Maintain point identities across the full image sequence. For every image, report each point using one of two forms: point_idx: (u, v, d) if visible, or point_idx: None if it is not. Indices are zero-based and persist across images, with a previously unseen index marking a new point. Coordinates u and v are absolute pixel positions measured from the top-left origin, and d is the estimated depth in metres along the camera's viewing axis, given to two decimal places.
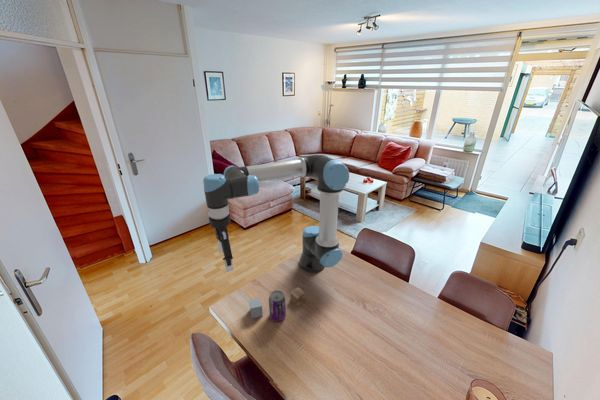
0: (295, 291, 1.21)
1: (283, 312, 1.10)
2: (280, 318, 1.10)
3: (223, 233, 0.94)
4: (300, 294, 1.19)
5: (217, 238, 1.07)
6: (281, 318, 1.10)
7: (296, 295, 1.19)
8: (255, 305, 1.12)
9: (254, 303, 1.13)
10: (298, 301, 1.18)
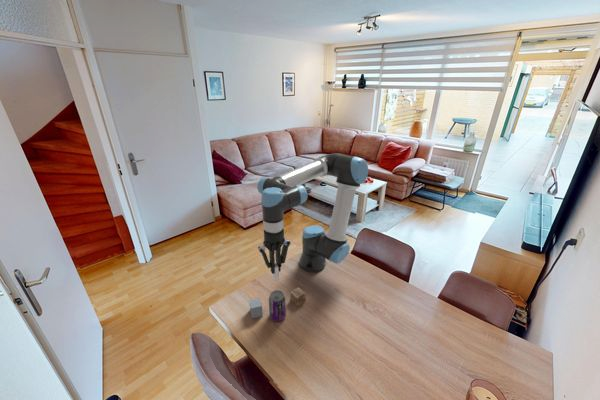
0: (295, 291, 1.21)
1: (283, 312, 1.10)
2: (280, 318, 1.10)
3: (260, 247, 0.96)
4: (300, 294, 1.19)
5: None
6: (281, 318, 1.10)
7: (296, 295, 1.19)
8: (255, 305, 1.12)
9: (254, 303, 1.13)
10: (298, 301, 1.18)
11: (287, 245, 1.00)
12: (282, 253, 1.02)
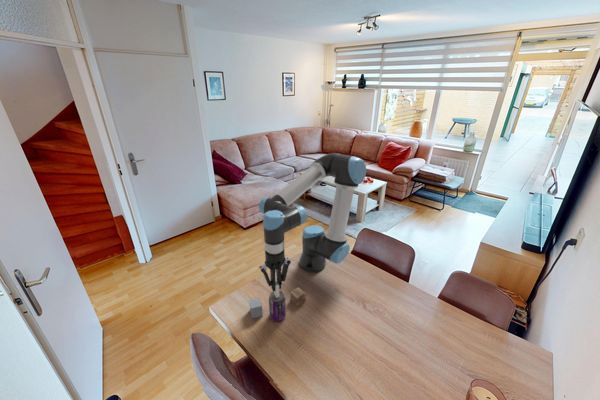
0: (295, 291, 1.21)
1: (283, 312, 1.10)
2: (280, 318, 1.10)
3: (262, 266, 1.00)
4: (300, 294, 1.19)
5: None
6: (281, 318, 1.10)
7: (296, 295, 1.19)
8: (255, 305, 1.12)
9: (254, 303, 1.13)
10: (298, 301, 1.18)
11: (287, 264, 1.04)
12: (283, 271, 1.06)
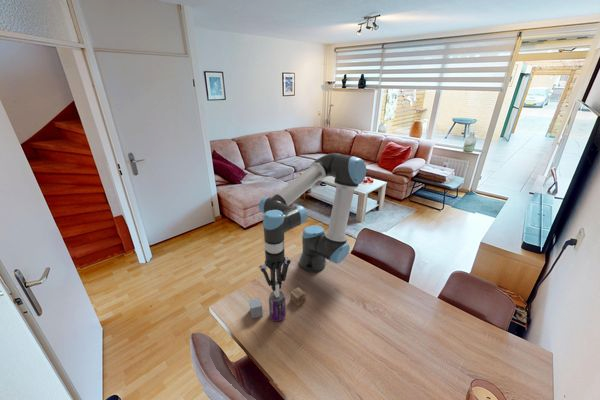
0: (295, 291, 1.21)
1: (283, 312, 1.10)
2: (280, 318, 1.10)
3: (262, 266, 1.00)
4: (300, 294, 1.19)
5: None
6: (281, 318, 1.10)
7: (296, 295, 1.19)
8: (255, 305, 1.12)
9: (254, 303, 1.13)
10: (298, 301, 1.18)
11: (287, 264, 1.04)
12: (283, 271, 1.06)
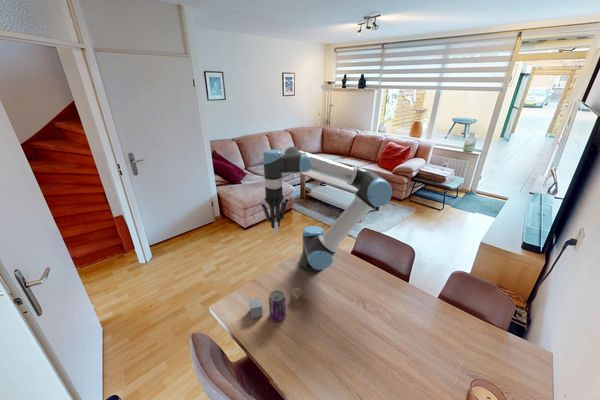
0: (295, 291, 1.21)
1: (283, 312, 1.10)
2: (280, 318, 1.10)
3: None
4: (300, 294, 1.19)
5: None
6: (281, 318, 1.10)
7: (296, 295, 1.19)
8: (255, 305, 1.12)
9: (254, 303, 1.13)
10: (298, 301, 1.18)
11: (285, 202, 1.15)
12: (281, 210, 1.17)
